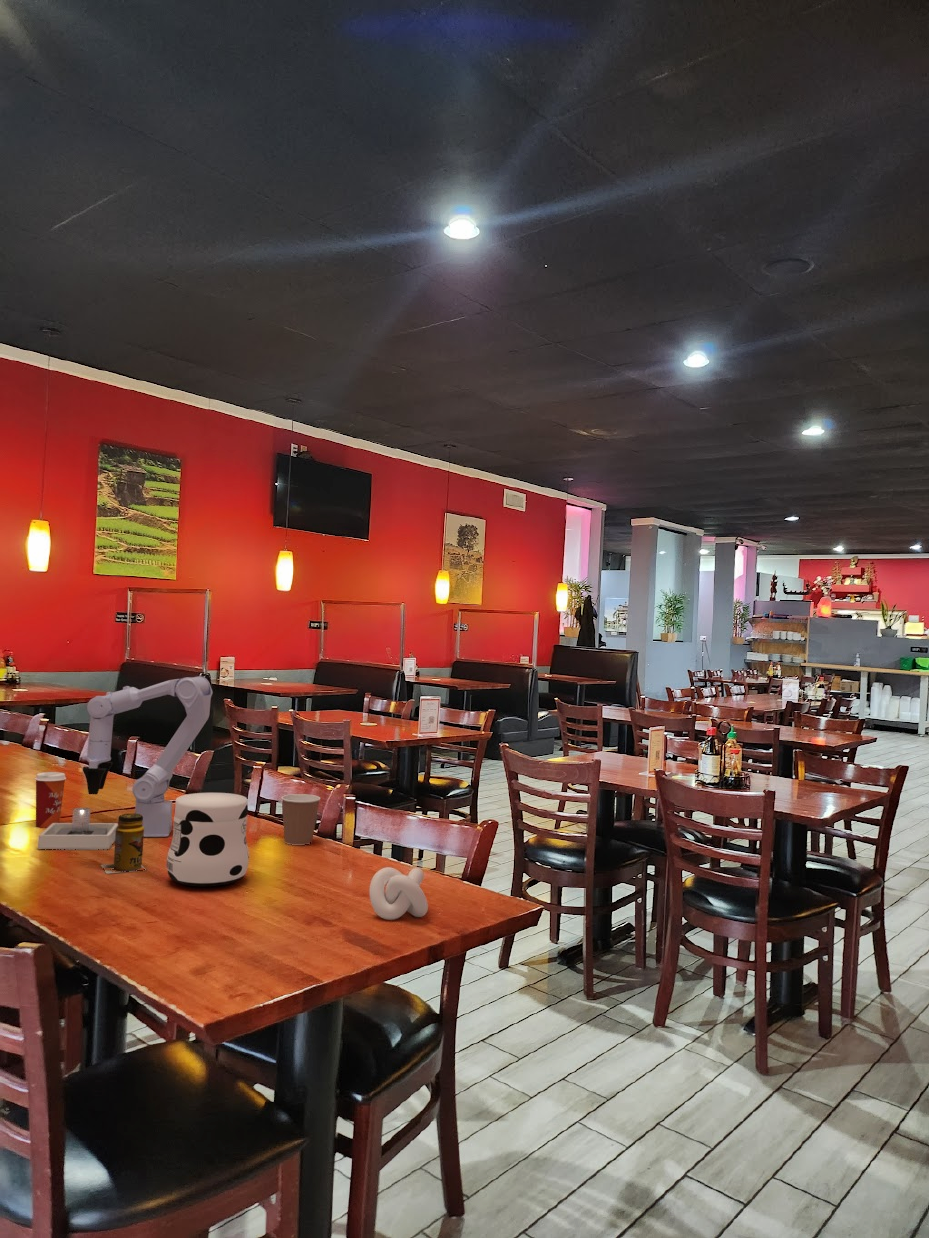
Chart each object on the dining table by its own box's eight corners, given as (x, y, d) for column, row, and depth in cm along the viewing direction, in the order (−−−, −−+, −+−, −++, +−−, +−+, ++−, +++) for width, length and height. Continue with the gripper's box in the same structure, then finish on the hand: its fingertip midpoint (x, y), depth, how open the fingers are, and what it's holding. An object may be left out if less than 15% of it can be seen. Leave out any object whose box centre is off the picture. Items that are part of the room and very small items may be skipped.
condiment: (146, 870, 193) (149, 817, 193) (106, 874, 188) (110, 819, 188) (139, 862, 199) (142, 811, 199) (100, 866, 194) (103, 813, 195)
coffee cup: (322, 839, 230) (324, 795, 231) (311, 848, 220) (314, 802, 221) (285, 837, 231) (287, 792, 232) (273, 845, 221) (275, 799, 222)
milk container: (262, 876, 193) (266, 796, 194) (220, 896, 176) (225, 809, 177) (195, 866, 198) (199, 789, 198) (148, 886, 181) (153, 801, 182)
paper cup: (54, 829, 226) (57, 776, 227) (25, 827, 227) (29, 775, 227) (68, 823, 234) (72, 772, 235) (41, 821, 234) (44, 770, 235)
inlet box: (118, 836, 222) (119, 823, 222) (108, 849, 209) (109, 835, 209) (51, 836, 219) (52, 822, 219) (37, 850, 205) (38, 835, 205)
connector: (90, 839, 216) (92, 807, 216) (86, 843, 212) (88, 810, 212) (73, 839, 215) (75, 807, 215) (69, 842, 211) (71, 810, 212)
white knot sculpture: (373, 926, 163) (376, 879, 163) (363, 907, 174) (365, 863, 175) (430, 924, 166) (433, 877, 166) (416, 905, 178) (419, 861, 178)
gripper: (89, 736, 234) (85, 786, 234) (78, 743, 220) (73, 796, 220) (116, 737, 236) (112, 786, 236) (107, 744, 222) (103, 796, 221)
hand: (95, 791), depth 228 cm, fingers open, 7 cm apart
